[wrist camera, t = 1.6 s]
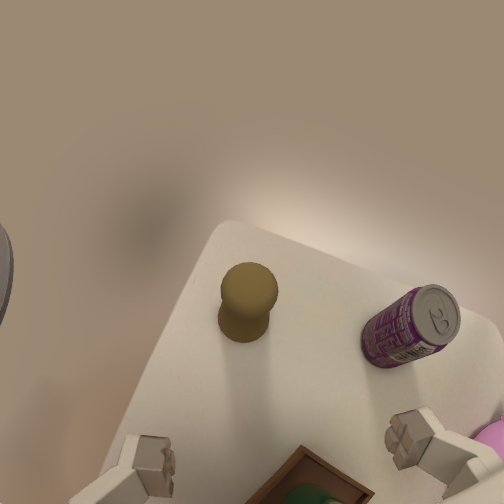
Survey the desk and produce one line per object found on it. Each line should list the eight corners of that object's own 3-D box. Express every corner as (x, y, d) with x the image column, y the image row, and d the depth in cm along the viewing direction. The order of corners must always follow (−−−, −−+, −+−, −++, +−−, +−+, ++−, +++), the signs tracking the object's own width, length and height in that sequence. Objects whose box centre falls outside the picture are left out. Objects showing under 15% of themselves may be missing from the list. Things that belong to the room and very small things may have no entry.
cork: (215, 340, 36) (212, 314, 26) (220, 291, 38) (219, 249, 29) (268, 344, 36) (285, 319, 26) (270, 295, 39) (286, 254, 29)
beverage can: (415, 352, 36) (473, 328, 26) (374, 379, 35) (430, 363, 24) (392, 306, 39) (442, 269, 28) (350, 329, 37) (396, 297, 27)
